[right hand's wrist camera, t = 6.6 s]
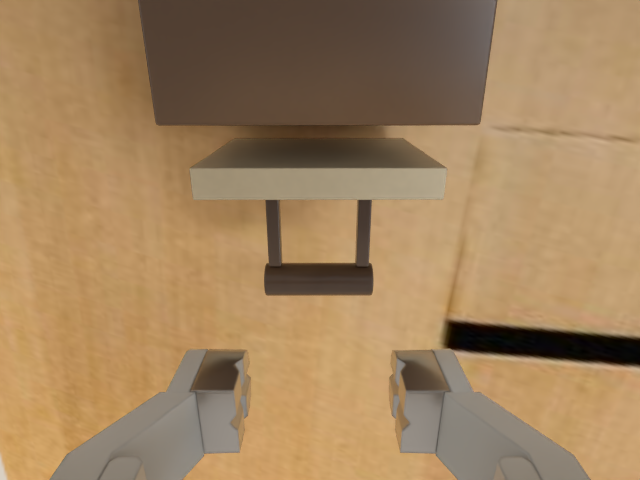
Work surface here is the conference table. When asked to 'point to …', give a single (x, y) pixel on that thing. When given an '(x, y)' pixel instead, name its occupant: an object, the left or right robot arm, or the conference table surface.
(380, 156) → the drawer
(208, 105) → the cabinet
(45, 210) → the conference table surface
